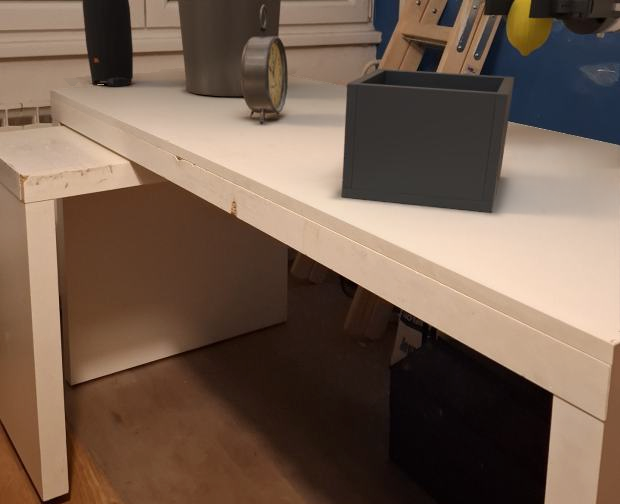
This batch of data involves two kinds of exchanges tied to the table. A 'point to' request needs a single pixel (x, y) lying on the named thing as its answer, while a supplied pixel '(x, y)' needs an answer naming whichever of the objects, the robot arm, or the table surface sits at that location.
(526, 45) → the lemon
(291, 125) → the table surface
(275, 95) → the alarm clock
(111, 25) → the portable speaker
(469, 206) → the bin
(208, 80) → the waste basket
